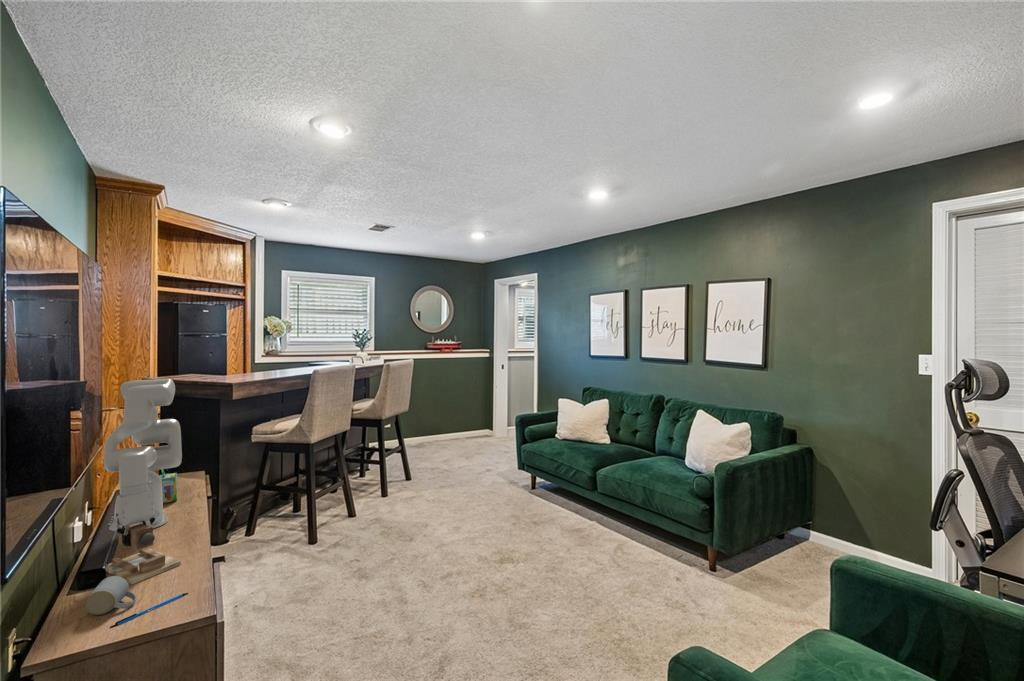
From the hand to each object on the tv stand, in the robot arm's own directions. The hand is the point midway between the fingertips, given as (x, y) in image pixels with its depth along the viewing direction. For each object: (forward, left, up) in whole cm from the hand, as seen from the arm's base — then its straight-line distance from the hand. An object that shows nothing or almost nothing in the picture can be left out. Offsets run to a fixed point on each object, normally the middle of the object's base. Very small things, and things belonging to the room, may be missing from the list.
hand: (136, 541), depth 161 cm
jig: (+3, 0, -8) cm, 9 cm away
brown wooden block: (0, 0, -1) cm, 1 cm away
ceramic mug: (+22, -15, -8) cm, 28 cm away
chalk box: (-60, +37, -8) cm, 71 cm away
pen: (+34, -11, -9) cm, 37 cm away
